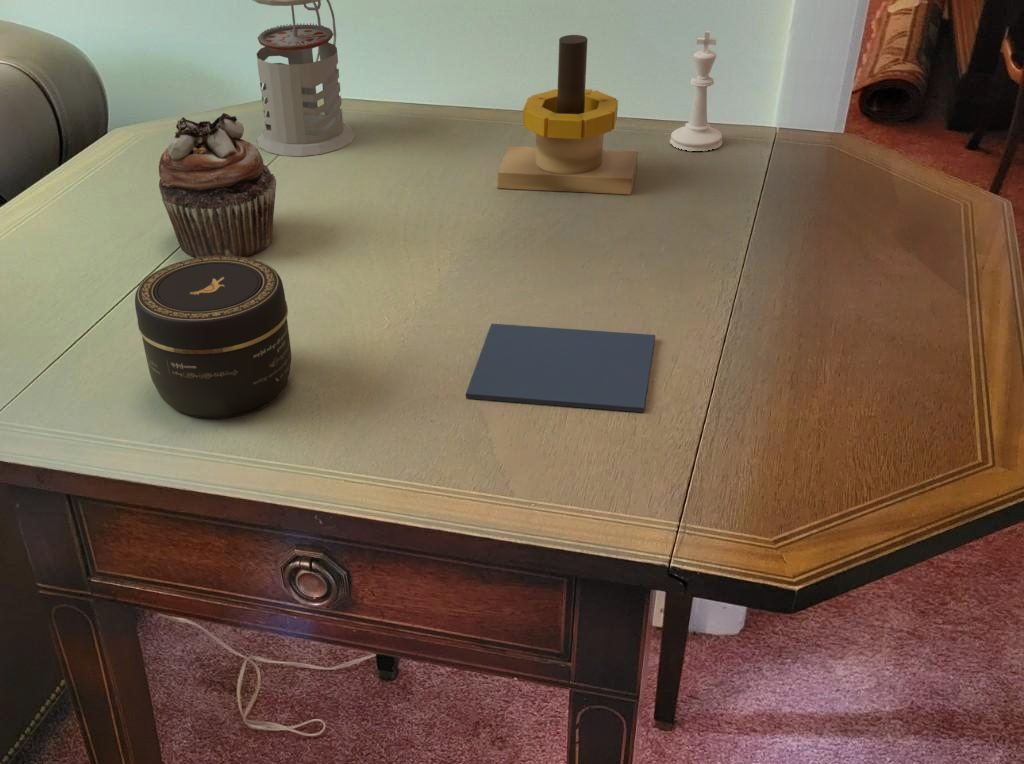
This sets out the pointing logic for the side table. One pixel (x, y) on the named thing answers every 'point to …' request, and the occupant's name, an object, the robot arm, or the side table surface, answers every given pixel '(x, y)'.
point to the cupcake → (217, 190)
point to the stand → (569, 143)
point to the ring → (570, 116)
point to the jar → (215, 335)
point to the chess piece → (699, 106)
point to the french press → (300, 88)
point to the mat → (564, 367)
